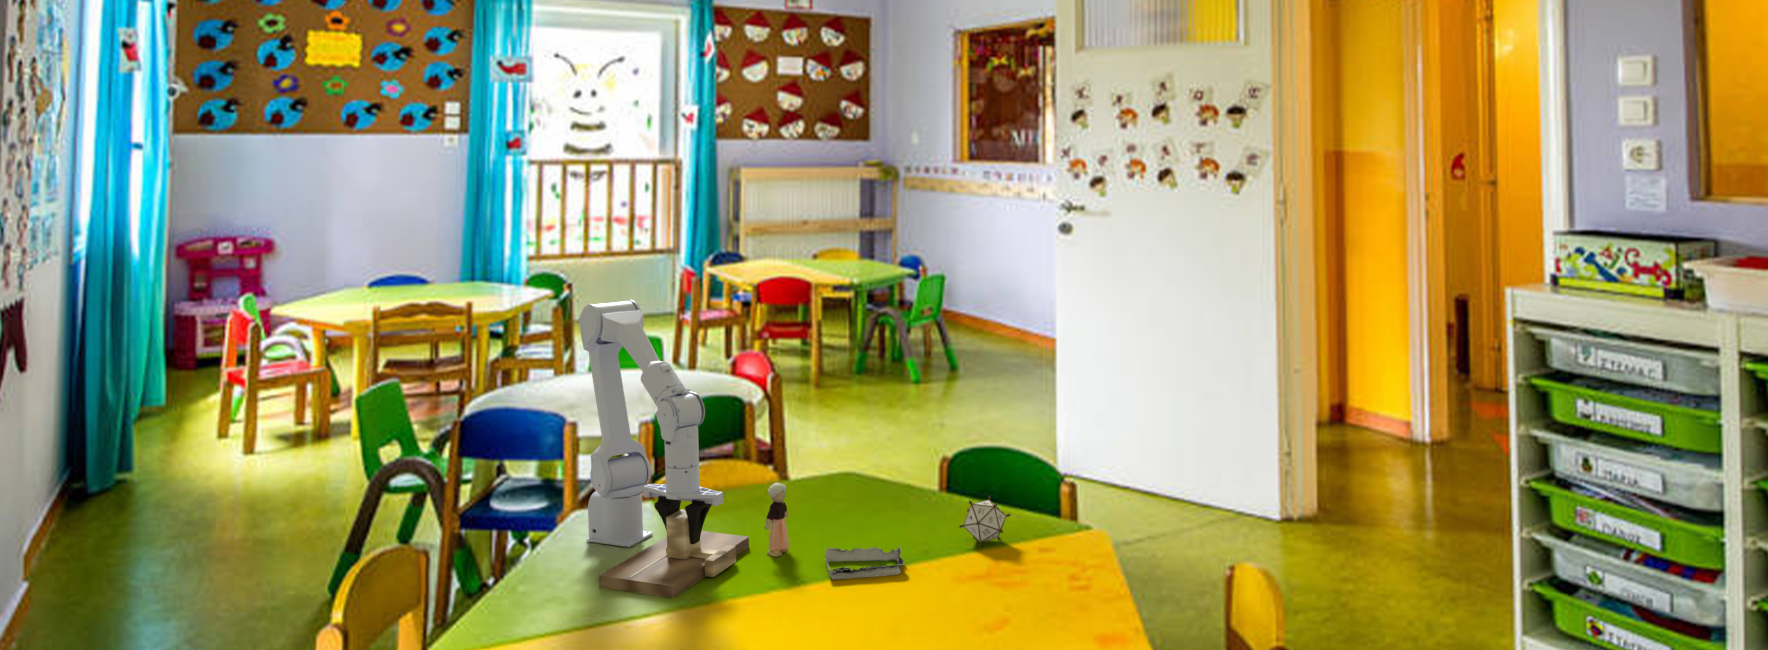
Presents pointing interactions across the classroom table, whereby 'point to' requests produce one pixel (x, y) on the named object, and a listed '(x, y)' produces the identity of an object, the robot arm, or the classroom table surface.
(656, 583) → the board
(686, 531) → the beige l-shaped block
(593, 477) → the robot arm
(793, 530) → the classroom table surface
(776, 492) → the grandmother figurine
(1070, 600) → the classroom table surface
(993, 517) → the game die
